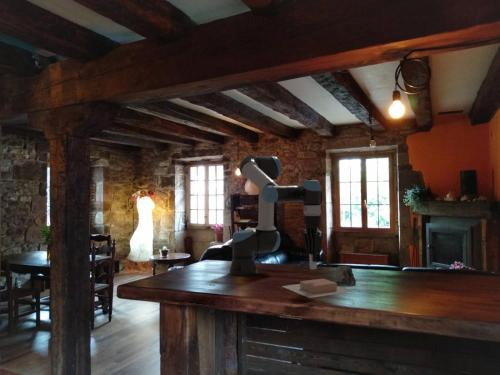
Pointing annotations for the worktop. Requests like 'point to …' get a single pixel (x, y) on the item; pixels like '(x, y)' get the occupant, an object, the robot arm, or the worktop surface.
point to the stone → (345, 275)
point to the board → (310, 295)
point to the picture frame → (318, 285)
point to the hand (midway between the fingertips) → (313, 268)
